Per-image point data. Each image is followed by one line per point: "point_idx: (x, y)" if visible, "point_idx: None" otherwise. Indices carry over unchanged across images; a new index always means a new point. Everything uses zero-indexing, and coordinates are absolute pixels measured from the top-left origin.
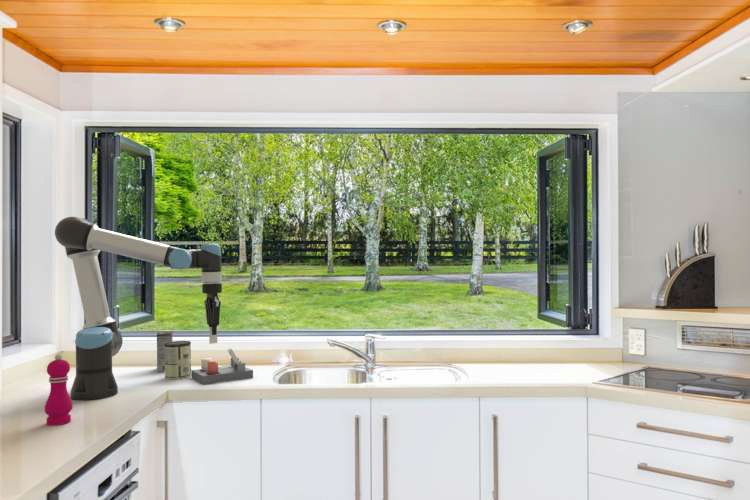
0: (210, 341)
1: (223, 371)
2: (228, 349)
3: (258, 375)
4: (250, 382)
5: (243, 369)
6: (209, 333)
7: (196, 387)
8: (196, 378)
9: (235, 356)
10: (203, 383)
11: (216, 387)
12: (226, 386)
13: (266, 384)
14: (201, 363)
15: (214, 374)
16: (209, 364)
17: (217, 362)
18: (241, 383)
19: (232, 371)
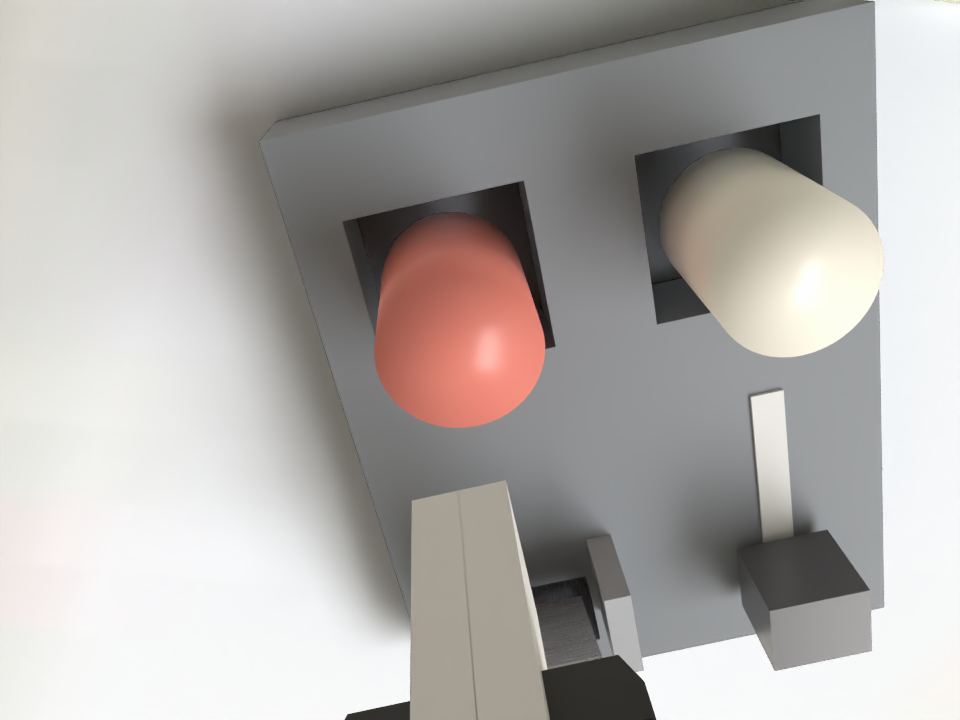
0: (422, 529)
1: (512, 418)
2: None
3: None
4: (192, 597)
5: None
6: (511, 666)
7: (93, 13)
8: (584, 54)
9: None
10: (276, 124)
11: (20, 257)
12: (48, 366)
13: (39, 705)
14: (771, 177)
15: (345, 298)
16: (395, 286)
17: (415, 411)
18: (170, 518)
19: None
